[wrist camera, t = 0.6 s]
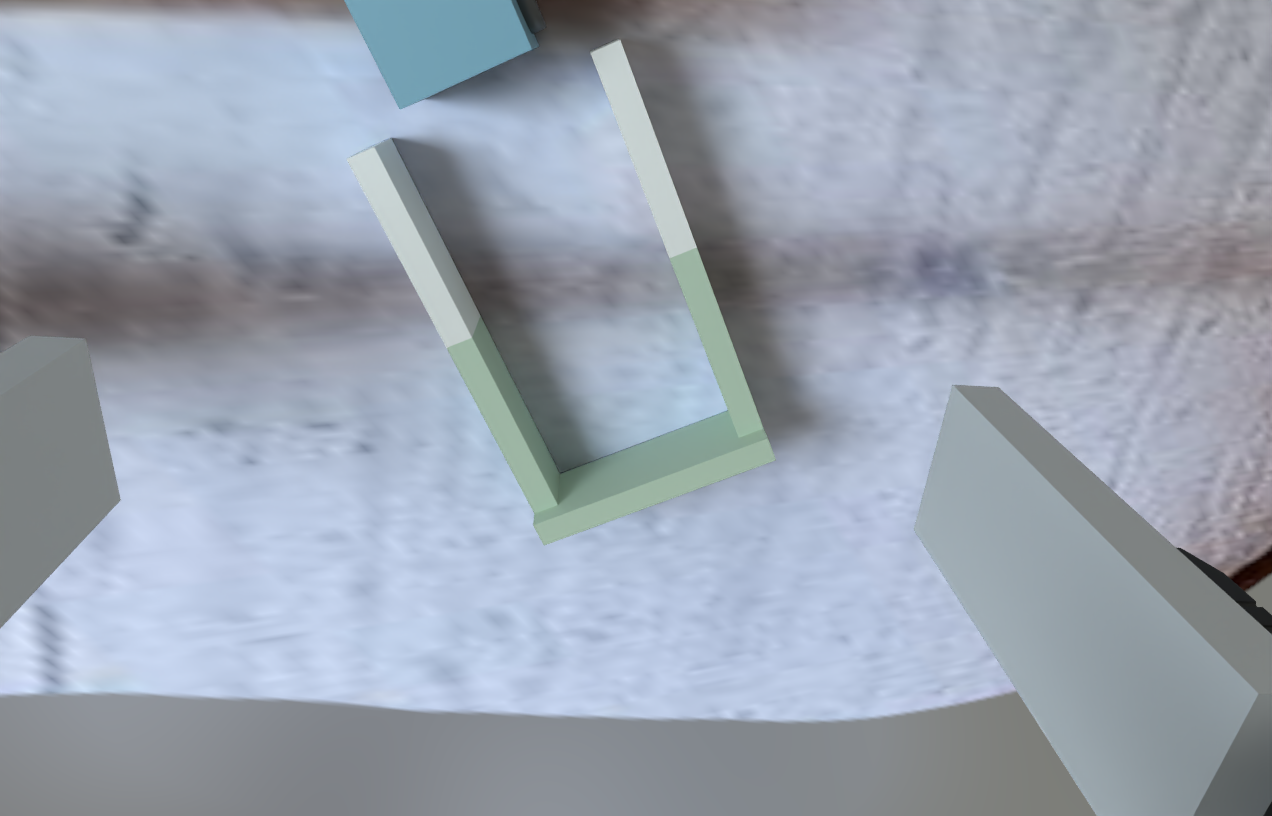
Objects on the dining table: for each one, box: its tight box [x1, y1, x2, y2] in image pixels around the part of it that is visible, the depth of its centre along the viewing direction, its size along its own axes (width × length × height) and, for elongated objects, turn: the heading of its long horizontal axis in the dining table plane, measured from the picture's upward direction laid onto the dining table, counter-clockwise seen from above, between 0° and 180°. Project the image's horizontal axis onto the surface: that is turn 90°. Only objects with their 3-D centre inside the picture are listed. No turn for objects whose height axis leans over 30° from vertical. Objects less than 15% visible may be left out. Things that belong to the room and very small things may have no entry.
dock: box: [347, 39, 776, 545], centre depth 36 cm, size 19×11×4 cm, turn 22°
